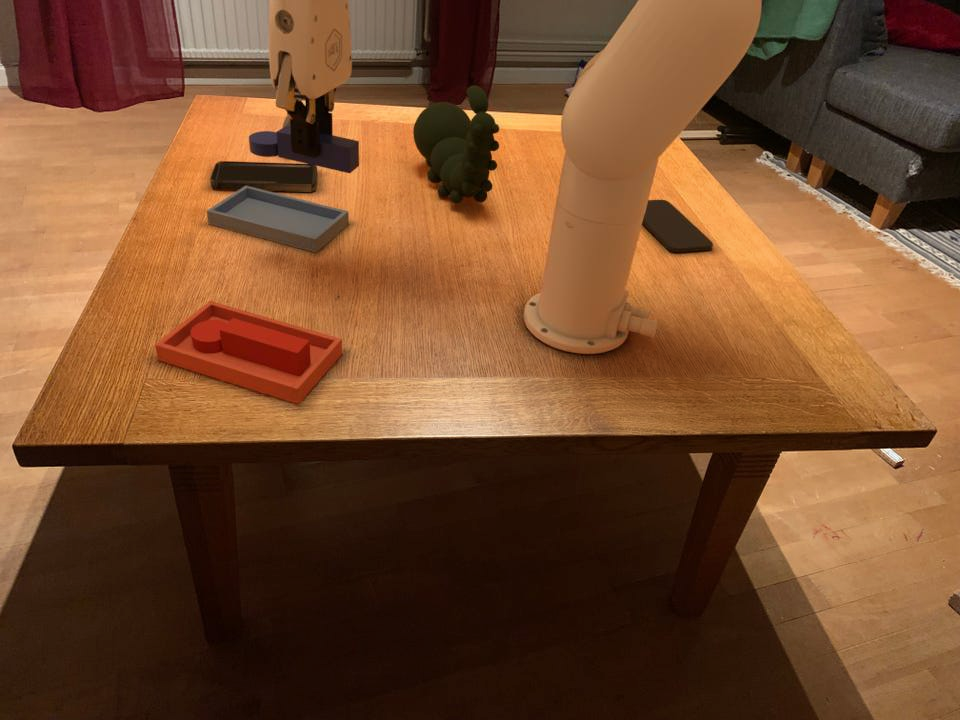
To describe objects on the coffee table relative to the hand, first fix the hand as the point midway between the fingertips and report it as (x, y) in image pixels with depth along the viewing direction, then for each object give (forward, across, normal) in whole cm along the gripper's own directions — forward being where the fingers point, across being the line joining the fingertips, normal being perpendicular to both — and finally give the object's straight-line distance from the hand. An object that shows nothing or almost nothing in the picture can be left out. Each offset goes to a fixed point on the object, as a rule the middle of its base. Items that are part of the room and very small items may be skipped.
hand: (312, 148), depth 84 cm
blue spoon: (+1, 0, +1) cm, 2 cm away
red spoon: (+15, -19, -3) cm, 25 cm away
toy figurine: (+16, +32, -7) cm, 36 cm away
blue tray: (+16, +8, +10) cm, 20 cm away
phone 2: (+15, +34, -41) cm, 55 cm away
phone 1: (+16, +19, +18) cm, 31 cm away
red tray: (+16, -19, -3) cm, 25 cm away
